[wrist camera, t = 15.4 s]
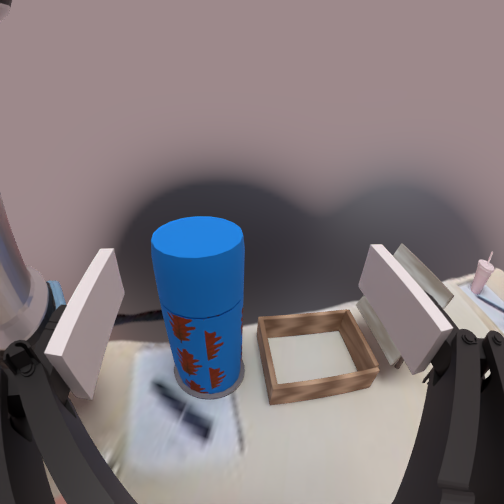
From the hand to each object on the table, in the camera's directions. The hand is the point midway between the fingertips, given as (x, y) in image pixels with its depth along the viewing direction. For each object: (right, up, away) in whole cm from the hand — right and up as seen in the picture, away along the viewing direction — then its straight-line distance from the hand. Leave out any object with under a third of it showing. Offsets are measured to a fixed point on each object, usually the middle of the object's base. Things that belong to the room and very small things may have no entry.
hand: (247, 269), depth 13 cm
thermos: (-7, -19, +30) cm, 36 cm away
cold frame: (+15, -19, +33) cm, 41 cm away
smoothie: (+70, -11, +50) cm, 87 cm away
